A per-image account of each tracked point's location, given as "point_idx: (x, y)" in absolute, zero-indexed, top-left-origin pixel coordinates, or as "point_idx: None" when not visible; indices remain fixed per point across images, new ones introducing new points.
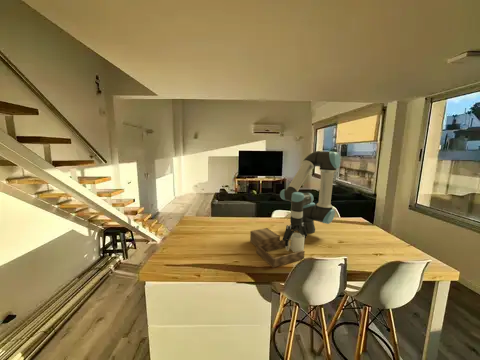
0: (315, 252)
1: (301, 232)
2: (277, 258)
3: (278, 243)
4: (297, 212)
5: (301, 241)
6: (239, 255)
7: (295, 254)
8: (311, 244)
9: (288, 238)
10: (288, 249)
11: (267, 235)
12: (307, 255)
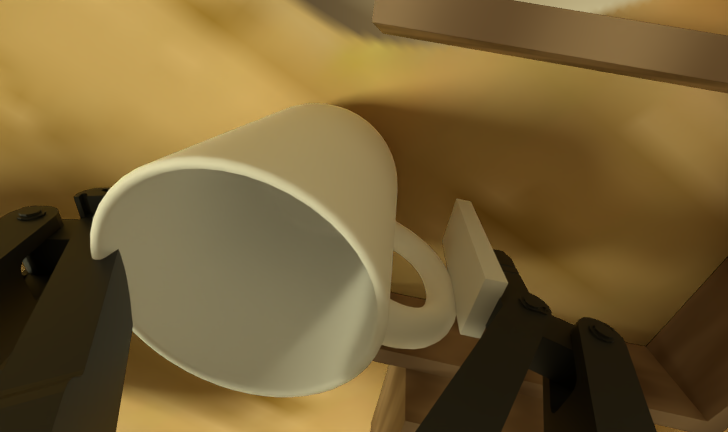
0: (150, 28)
1: (89, 321)
2: None
3: (440, 344)
4: None
5: (289, 139)
6: None
7: (589, 17)
8: (94, 175)
9: (534, 343)
10: (471, 210)
11: None
12: (288, 37)
